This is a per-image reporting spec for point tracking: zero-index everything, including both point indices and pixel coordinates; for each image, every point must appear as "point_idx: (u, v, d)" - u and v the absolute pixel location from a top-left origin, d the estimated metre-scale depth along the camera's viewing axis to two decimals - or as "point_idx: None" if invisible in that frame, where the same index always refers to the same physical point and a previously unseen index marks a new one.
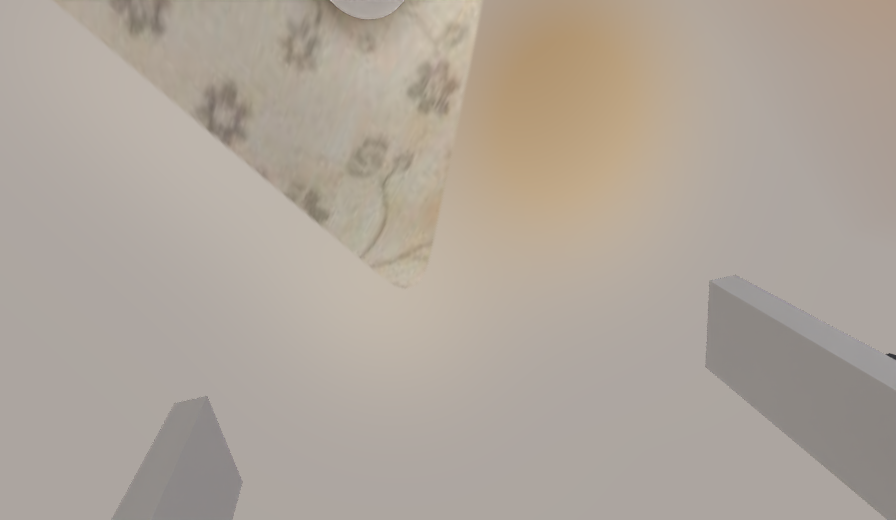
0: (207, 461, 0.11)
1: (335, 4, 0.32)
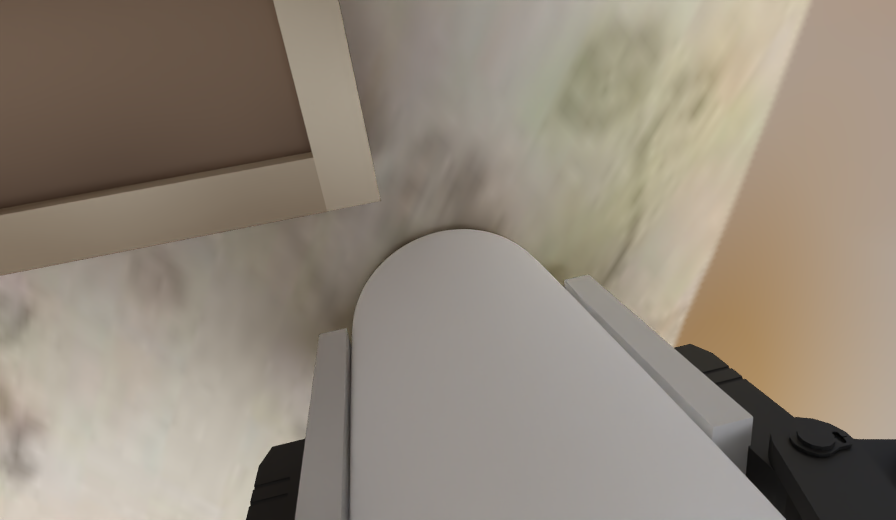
0: None
1: None
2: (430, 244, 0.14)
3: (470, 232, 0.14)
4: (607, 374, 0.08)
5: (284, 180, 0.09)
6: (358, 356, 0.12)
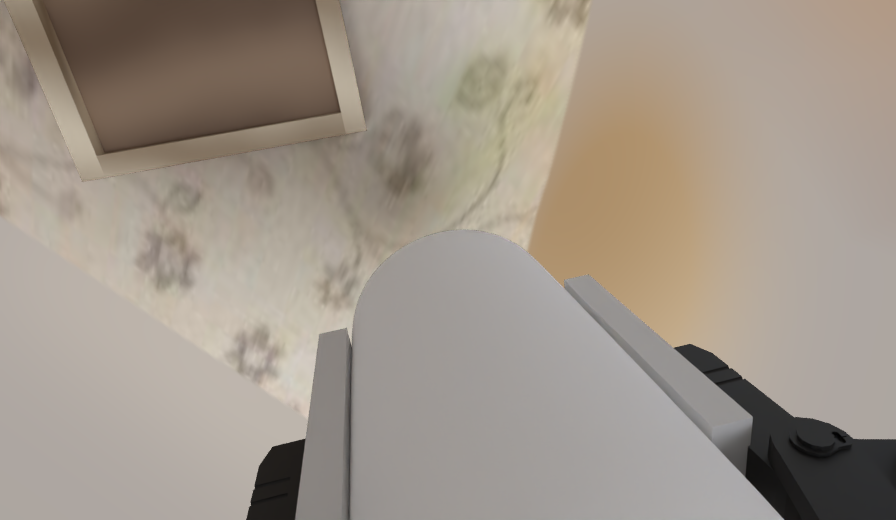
0: None
1: None
2: (430, 244, 0.14)
3: (470, 232, 0.14)
4: (606, 374, 0.08)
5: (330, 121, 0.24)
6: (358, 356, 0.12)
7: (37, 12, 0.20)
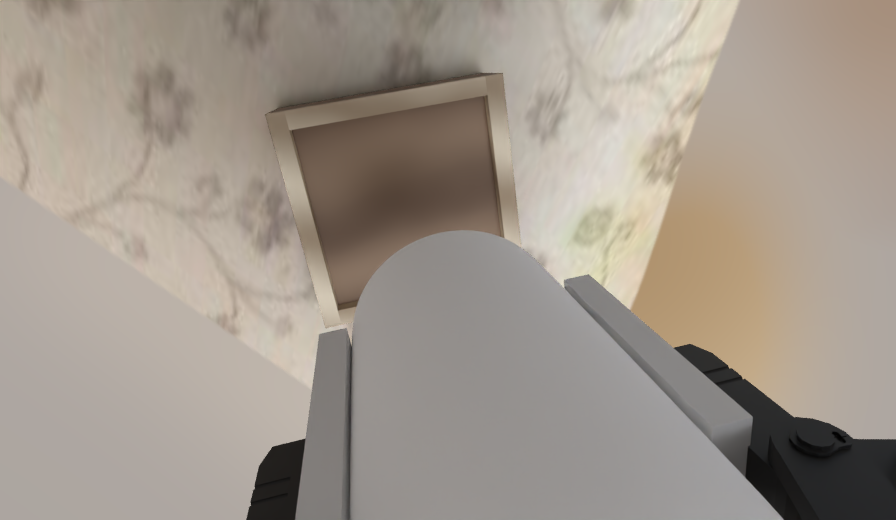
0: None
1: None
2: (430, 245, 0.13)
3: (470, 233, 0.14)
4: (608, 377, 0.08)
5: None
6: (358, 358, 0.12)
7: None
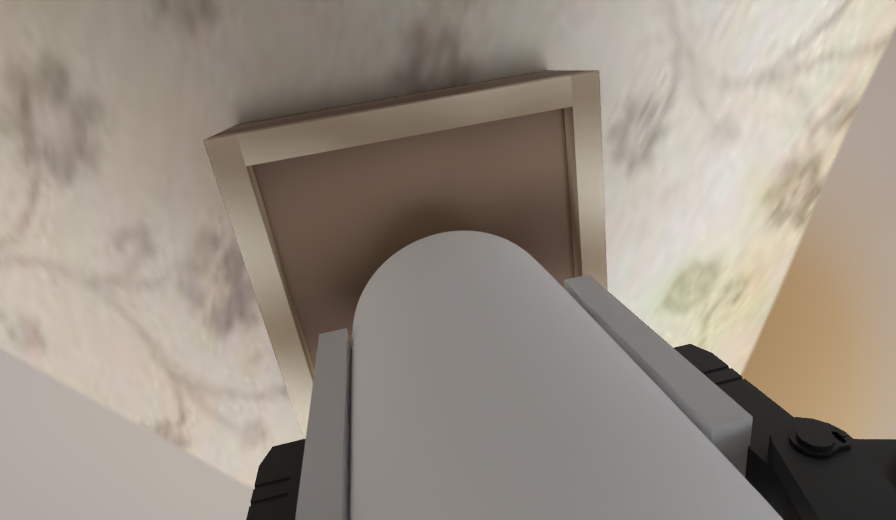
0: None
1: None
2: (430, 246, 0.13)
3: (470, 233, 0.14)
4: (608, 377, 0.08)
5: None
6: (358, 358, 0.12)
7: (288, 306, 0.18)
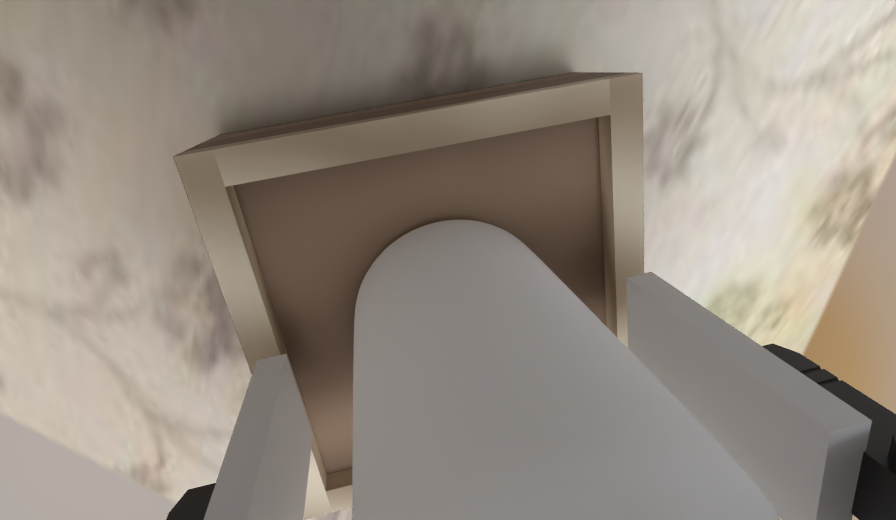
0: (290, 410, 0.12)
1: None
2: (429, 233, 0.14)
3: (467, 222, 0.15)
4: (588, 344, 0.08)
5: None
6: (361, 335, 0.12)
7: (277, 347, 0.15)
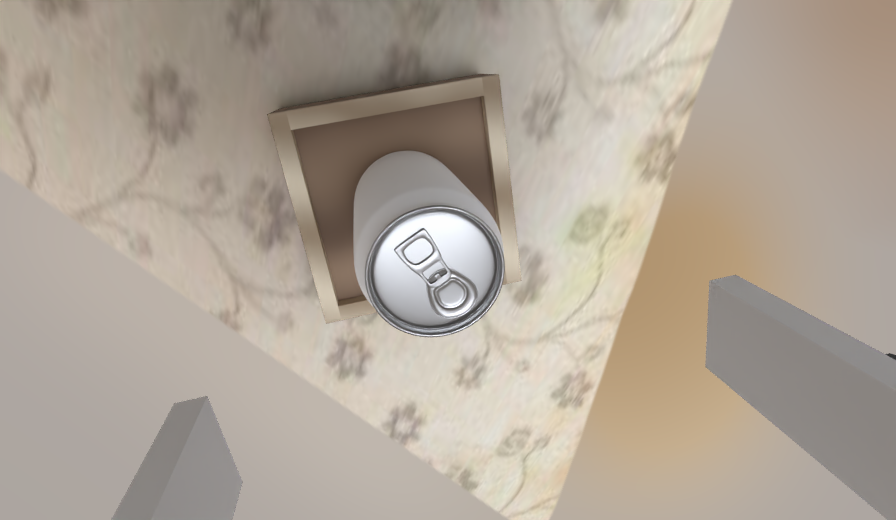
0: (207, 461, 0.11)
1: None
2: (391, 155, 0.28)
3: (412, 151, 0.29)
4: (442, 176, 0.23)
5: None
6: (357, 197, 0.26)
7: (313, 218, 0.29)
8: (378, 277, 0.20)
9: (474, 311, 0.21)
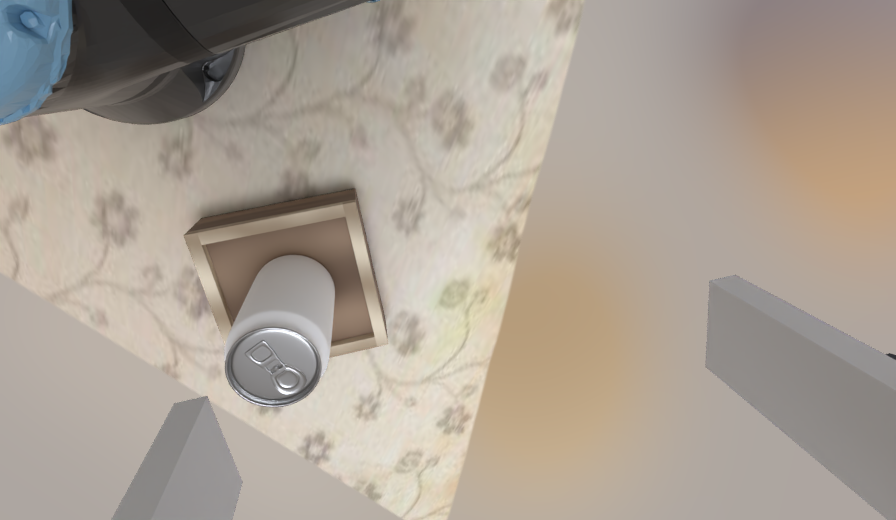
0: (207, 461, 0.11)
1: None
2: (277, 260, 0.39)
3: (294, 256, 0.40)
4: (291, 293, 0.33)
5: (368, 341, 0.43)
6: None
7: (223, 304, 0.40)
8: (236, 370, 0.30)
9: (306, 389, 0.32)
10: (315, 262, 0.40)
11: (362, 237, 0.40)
